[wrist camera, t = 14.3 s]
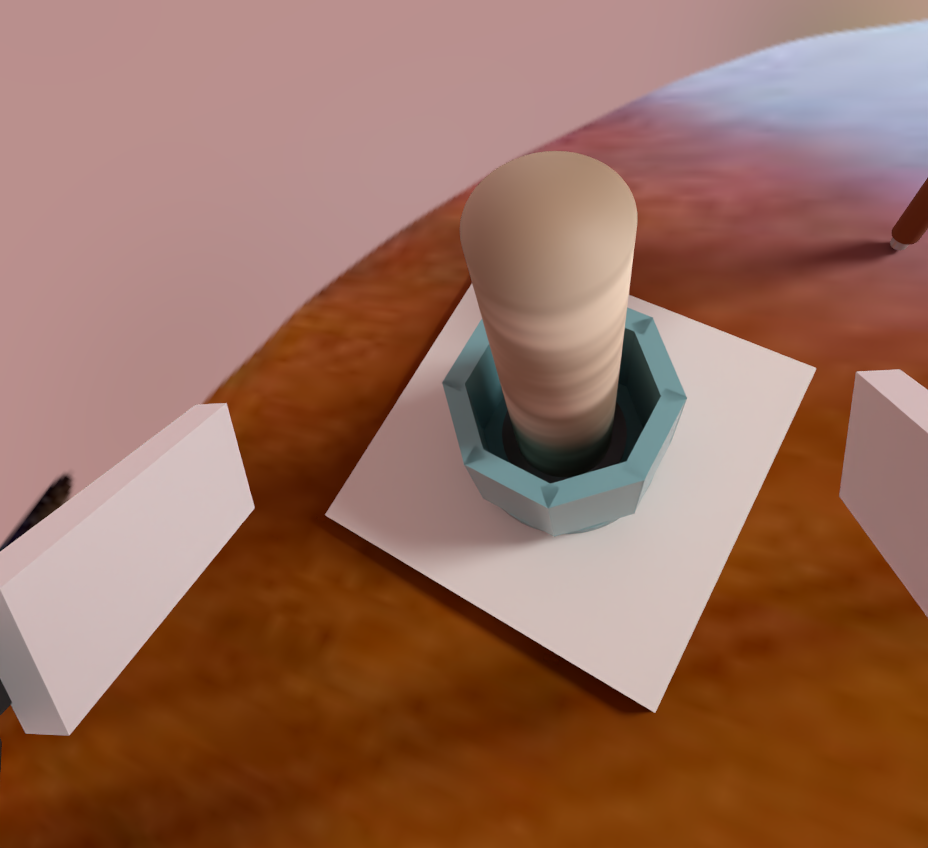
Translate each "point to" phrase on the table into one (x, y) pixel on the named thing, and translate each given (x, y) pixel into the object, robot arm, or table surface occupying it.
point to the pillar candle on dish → (554, 305)
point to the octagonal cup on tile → (582, 492)
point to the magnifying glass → (912, 221)
